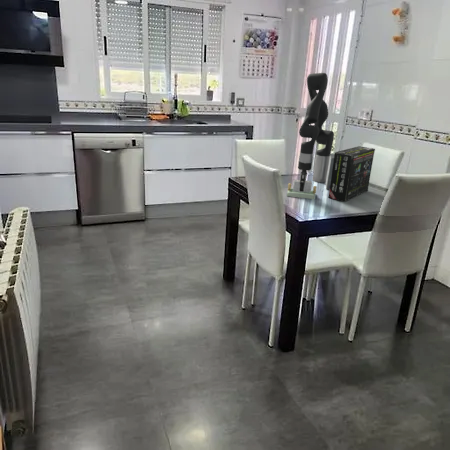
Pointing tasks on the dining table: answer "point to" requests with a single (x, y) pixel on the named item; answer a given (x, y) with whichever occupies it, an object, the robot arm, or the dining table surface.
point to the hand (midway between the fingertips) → (301, 189)
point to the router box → (351, 173)
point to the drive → (306, 187)
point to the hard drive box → (329, 171)
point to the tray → (300, 194)
